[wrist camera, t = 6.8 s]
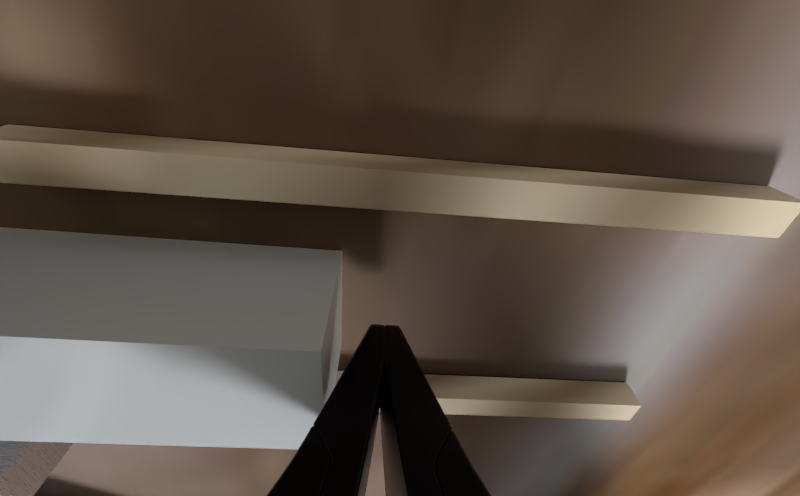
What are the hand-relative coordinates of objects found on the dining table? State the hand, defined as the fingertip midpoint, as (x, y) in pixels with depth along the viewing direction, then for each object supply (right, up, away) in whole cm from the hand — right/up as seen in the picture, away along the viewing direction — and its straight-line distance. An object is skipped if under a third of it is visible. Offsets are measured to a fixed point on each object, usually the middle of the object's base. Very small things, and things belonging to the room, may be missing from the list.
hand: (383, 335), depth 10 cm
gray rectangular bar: (-9, +1, +1) cm, 10 cm away
